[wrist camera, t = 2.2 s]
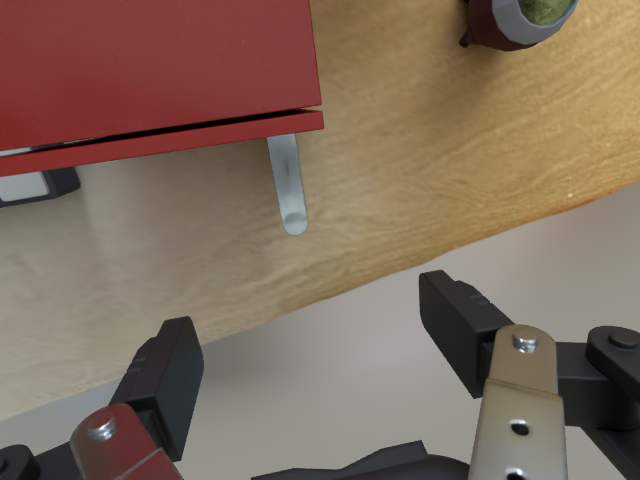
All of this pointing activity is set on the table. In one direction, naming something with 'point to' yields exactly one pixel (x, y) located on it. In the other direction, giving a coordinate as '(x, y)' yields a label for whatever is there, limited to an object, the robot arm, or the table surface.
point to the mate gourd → (514, 22)
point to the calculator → (36, 183)
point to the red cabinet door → (190, 136)
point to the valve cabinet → (148, 65)
